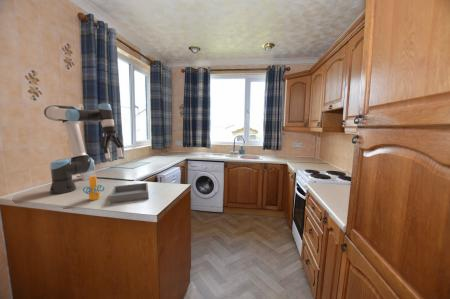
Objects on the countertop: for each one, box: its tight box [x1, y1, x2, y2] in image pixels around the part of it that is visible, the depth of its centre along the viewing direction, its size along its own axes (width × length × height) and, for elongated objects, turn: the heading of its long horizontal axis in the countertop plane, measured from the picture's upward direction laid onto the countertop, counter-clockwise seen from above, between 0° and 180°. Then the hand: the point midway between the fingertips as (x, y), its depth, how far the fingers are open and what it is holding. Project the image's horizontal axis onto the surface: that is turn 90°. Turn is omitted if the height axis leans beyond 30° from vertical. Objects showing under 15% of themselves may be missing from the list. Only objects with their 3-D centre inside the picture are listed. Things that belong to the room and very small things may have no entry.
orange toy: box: [82, 175, 105, 201], centre depth 133 cm, size 12×10×15 cm
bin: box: [109, 182, 150, 205], centre depth 138 cm, size 22×22×5 cm
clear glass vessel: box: [79, 159, 96, 181], centre depth 184 cm, size 10×9×17 cm
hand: (114, 157), depth 137 cm, fingers open, 13 cm apart
